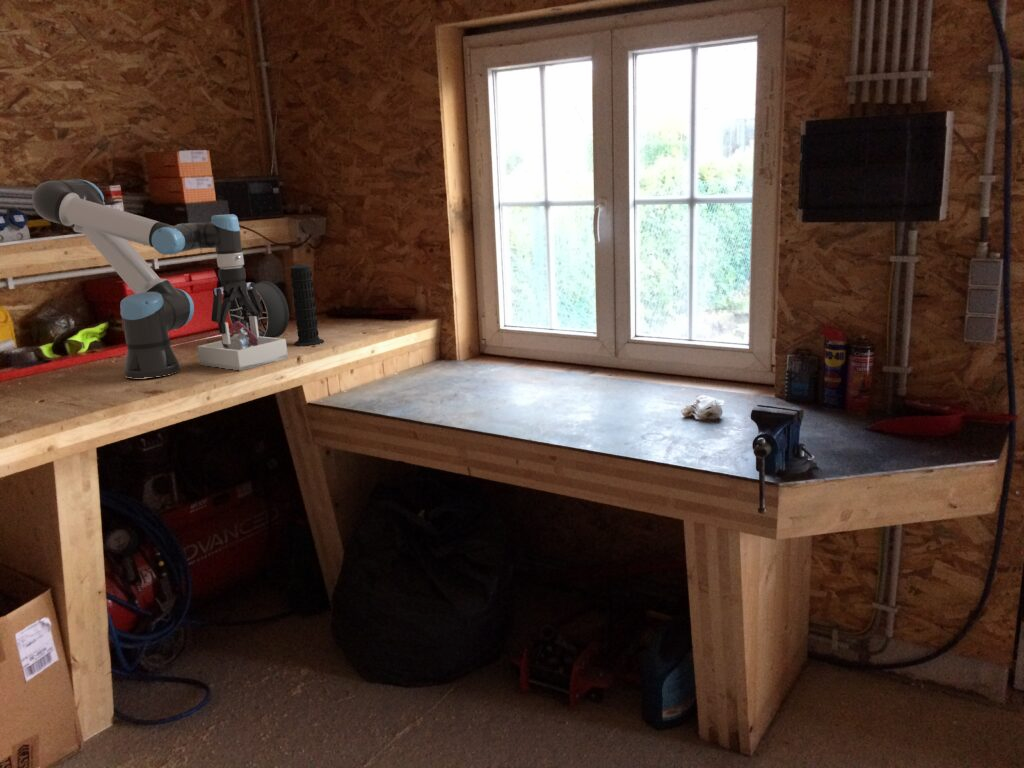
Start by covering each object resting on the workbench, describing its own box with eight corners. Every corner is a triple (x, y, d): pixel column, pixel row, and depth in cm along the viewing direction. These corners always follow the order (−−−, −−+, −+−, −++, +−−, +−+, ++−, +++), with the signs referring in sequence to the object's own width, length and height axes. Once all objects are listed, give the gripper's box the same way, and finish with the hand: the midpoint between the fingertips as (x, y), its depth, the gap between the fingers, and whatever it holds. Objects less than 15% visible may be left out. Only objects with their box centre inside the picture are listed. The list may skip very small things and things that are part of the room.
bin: (240, 371, 250) (237, 351, 249) (200, 365, 261) (197, 346, 259) (287, 358, 264) (285, 339, 263) (247, 353, 275) (245, 334, 274)
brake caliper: (266, 343, 268) (253, 317, 259) (260, 370, 261) (246, 344, 252) (231, 346, 269) (217, 320, 260) (224, 373, 262) (209, 347, 253)
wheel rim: (232, 340, 297) (224, 283, 292) (253, 335, 305) (246, 279, 300) (271, 345, 286) (264, 285, 281) (292, 339, 294) (285, 281, 289)
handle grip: (319, 345, 281) (328, 339, 290) (310, 264, 274) (319, 261, 284) (289, 346, 282) (299, 340, 291) (279, 266, 275) (290, 262, 285)
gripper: (207, 272, 244) (218, 348, 250) (269, 262, 262) (278, 334, 268) (191, 271, 249) (202, 346, 254) (253, 262, 266) (262, 332, 272)
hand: (241, 340), depth 261 cm, fingers open, 10 cm apart
